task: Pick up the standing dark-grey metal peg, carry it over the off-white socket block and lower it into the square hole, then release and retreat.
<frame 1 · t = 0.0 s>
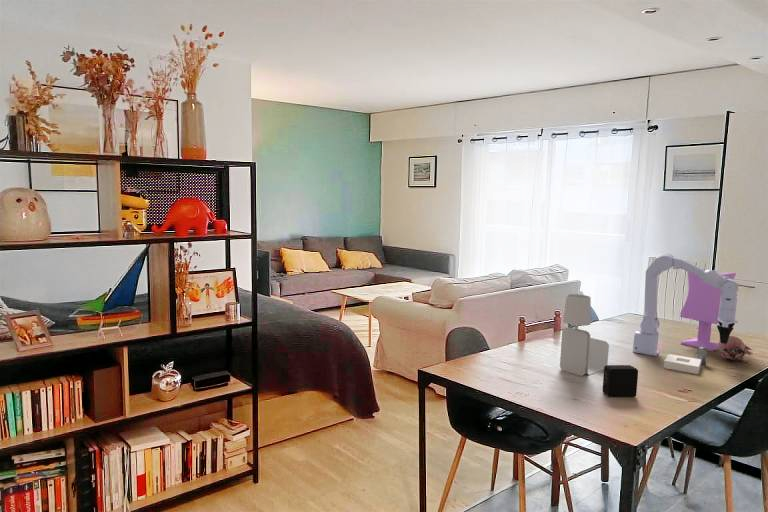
hand: (724, 341, 222), 10 cm above the table, fingers open, 7 cm apart
socket block: (682, 367, 219), on the table
pink table lamp: (703, 346, 253), on the table
peg: (701, 364, 224), on the table
electronic device: (619, 395, 186), on the table
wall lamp: (581, 370, 213), on the table
toy: (734, 361, 229), on the table
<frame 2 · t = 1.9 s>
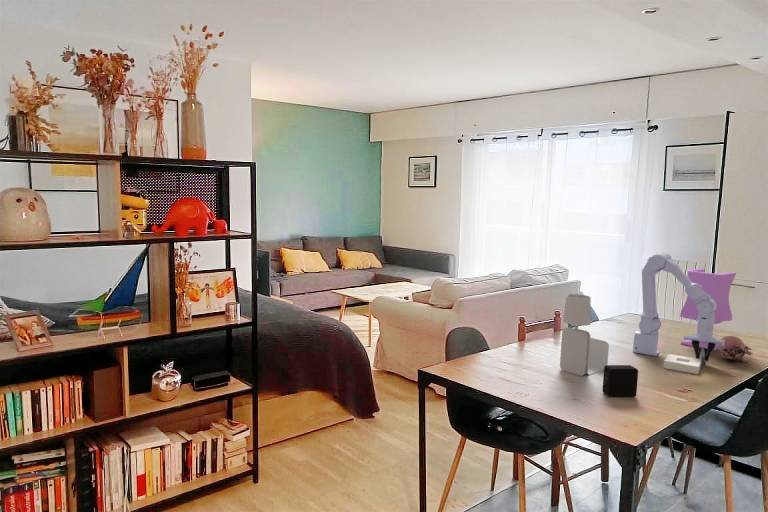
hand: (702, 359, 224), 2 cm above the table, fingers closed on peg, 3 cm apart
peg: (701, 364, 224), on the table, touching gripper
everything else where it was.
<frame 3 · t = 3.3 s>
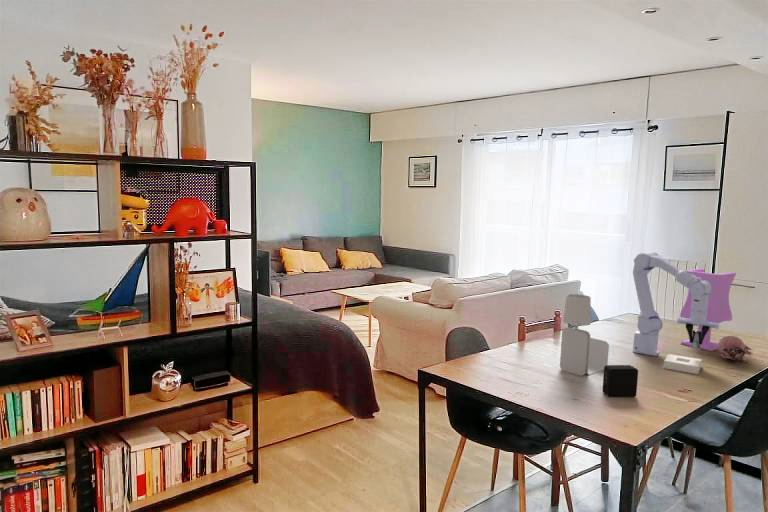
hand: (695, 343, 221), 9 cm above the table, fingers closed on peg, 3 cm apart
peg: (695, 347, 221), point 7 cm above the table, touching gripper
everything else where it was.
when the fingers open (3 cm above the table, at t = 5.0 s): peg drops 1 cm, resting in socket block.
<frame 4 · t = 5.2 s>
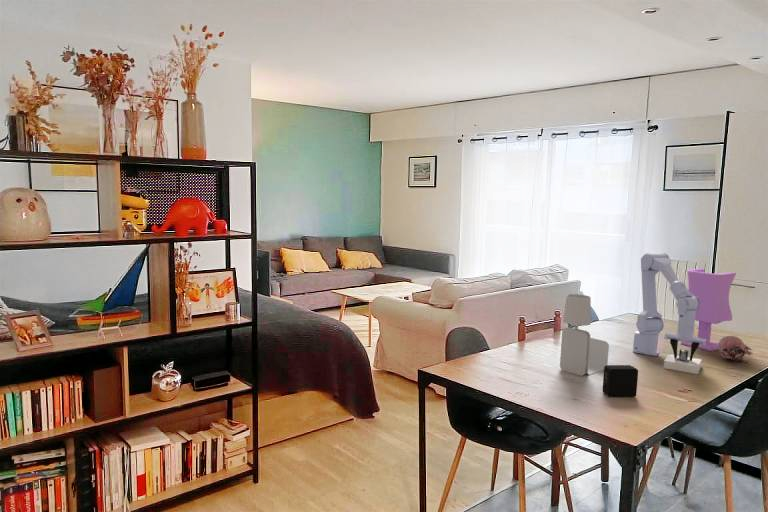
hand: (683, 359, 219), 3 cm above the table, fingers open, 5 cm apart
peg: (682, 367, 219), resting in socket block
everything else where it was.
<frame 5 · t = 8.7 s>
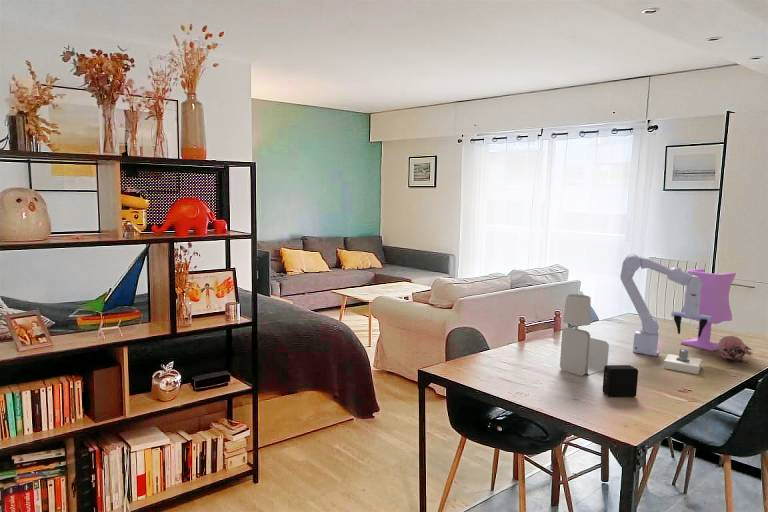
hand: (689, 335, 232), 10 cm above the table, fingers open, 7 cm apart
nothing on the table moved.
at the end: peg 0.1 cm off-centre on the socket block, point 0.0 cm above the socket block's base; peg tilted 0°; the gripper is holding nothing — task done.
